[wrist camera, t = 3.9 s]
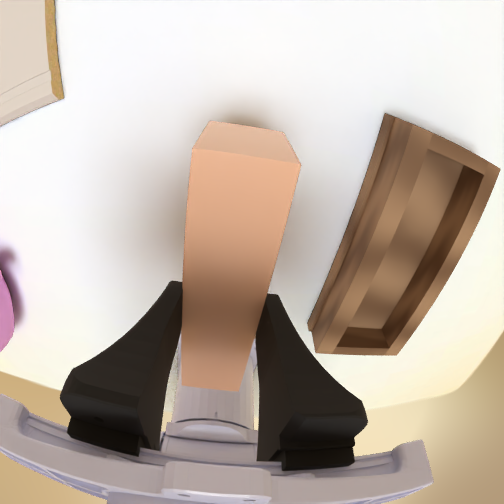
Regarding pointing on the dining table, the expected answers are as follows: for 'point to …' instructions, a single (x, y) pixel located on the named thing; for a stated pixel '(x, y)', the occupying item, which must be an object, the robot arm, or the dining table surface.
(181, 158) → the dining table surface
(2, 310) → the teapot
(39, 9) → the baseboard
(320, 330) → the tray
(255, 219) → the clay block
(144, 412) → the robot arm
